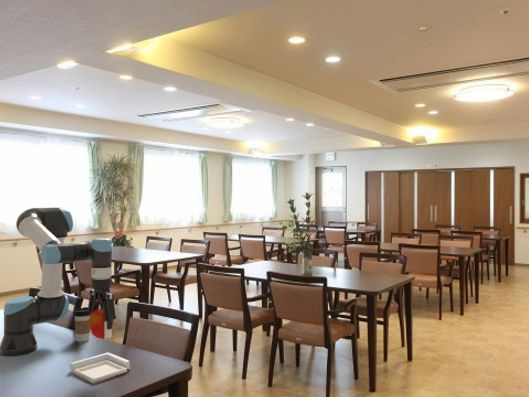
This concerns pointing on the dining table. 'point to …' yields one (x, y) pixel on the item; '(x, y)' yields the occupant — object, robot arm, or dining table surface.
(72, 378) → the dining table surface
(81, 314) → the coffee cup
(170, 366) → the dining table surface
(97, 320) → the apple
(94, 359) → the pen walls
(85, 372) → the dish
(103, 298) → the robot arm
